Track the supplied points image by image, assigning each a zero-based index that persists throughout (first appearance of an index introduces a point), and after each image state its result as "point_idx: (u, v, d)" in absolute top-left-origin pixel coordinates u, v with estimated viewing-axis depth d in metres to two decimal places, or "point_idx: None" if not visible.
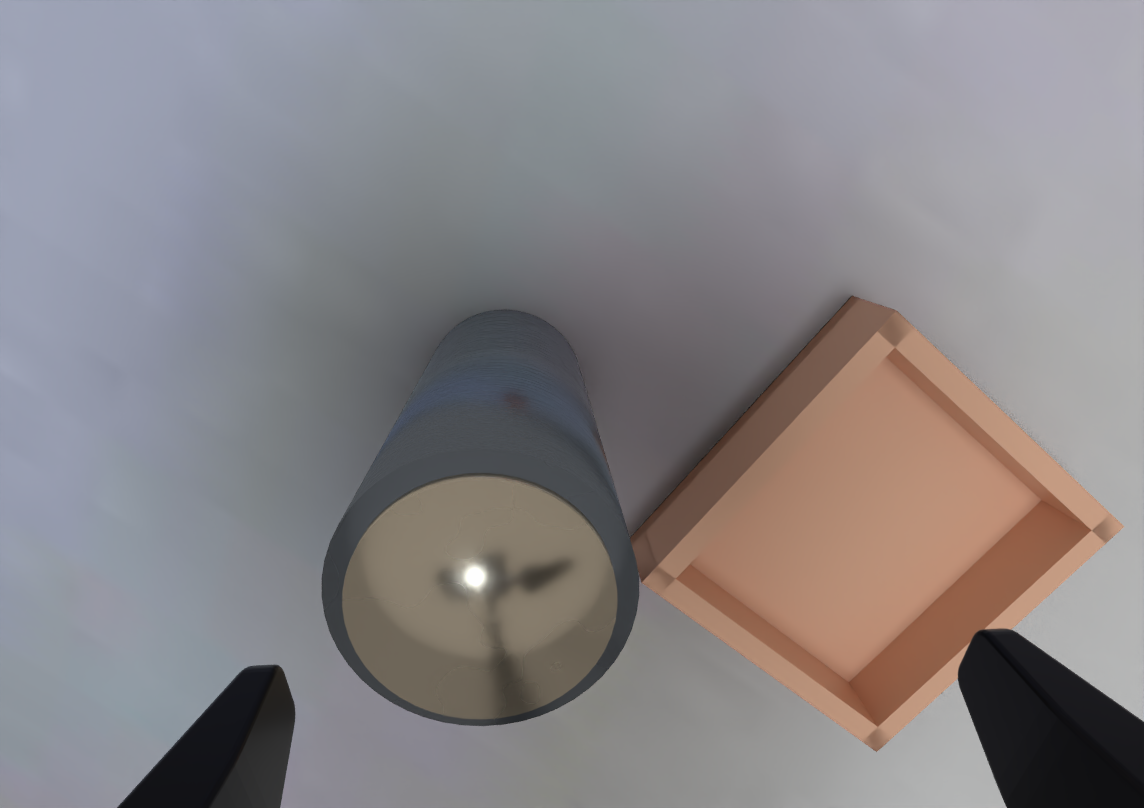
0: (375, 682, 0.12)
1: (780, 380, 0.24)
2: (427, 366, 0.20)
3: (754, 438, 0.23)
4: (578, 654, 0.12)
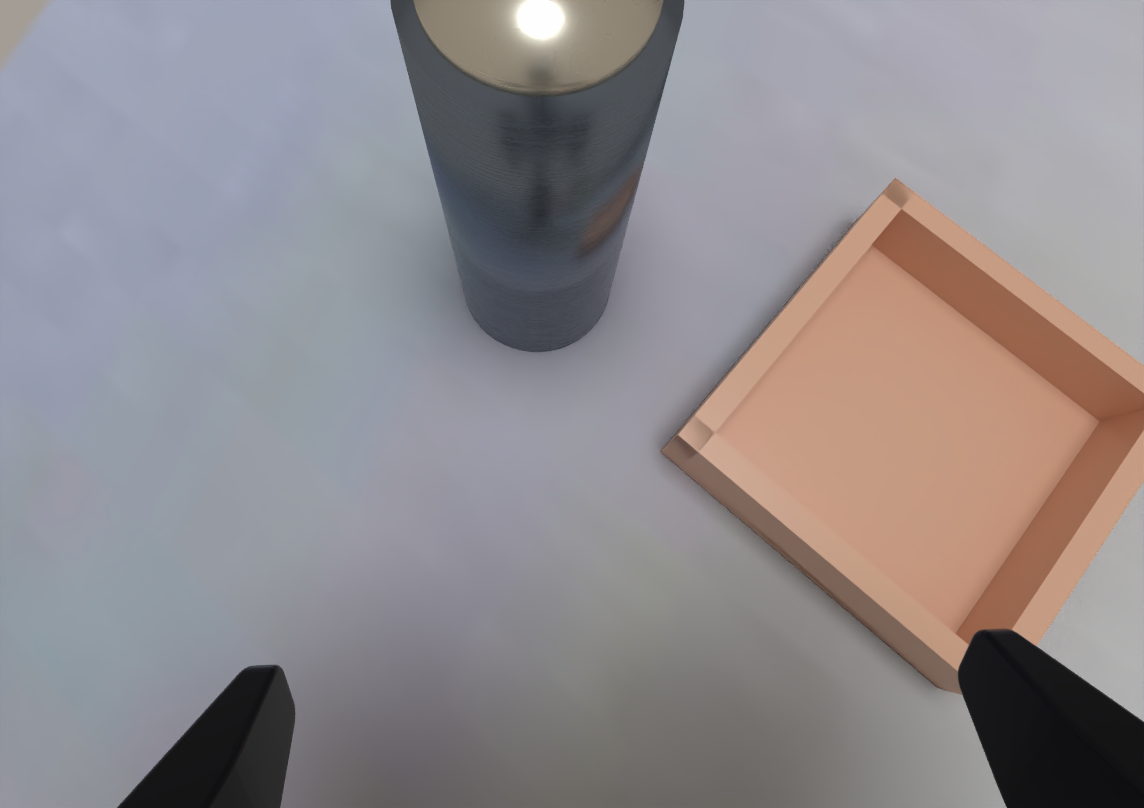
0: (425, 58, 0.12)
1: (801, 285, 0.25)
2: None
3: (782, 309, 0.23)
4: (628, 26, 0.12)
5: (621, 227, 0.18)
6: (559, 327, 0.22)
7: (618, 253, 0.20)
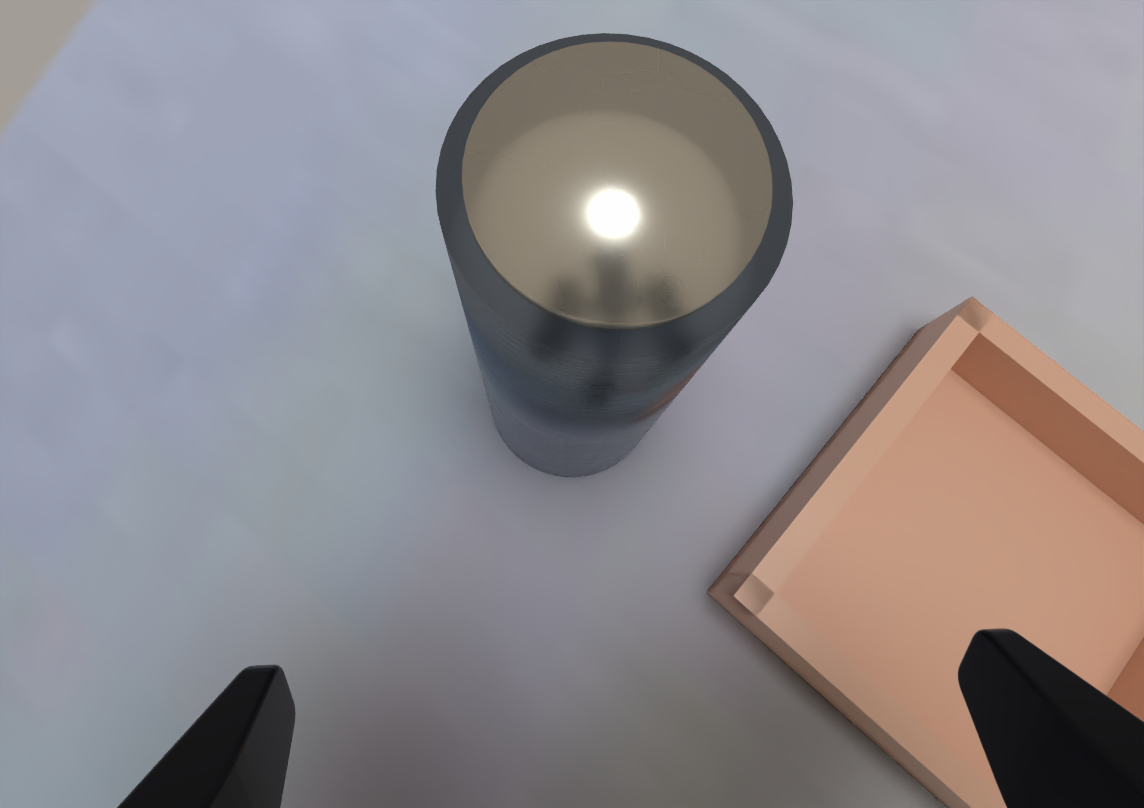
0: (479, 280, 0.10)
1: (861, 404, 0.23)
2: None
3: (845, 441, 0.21)
4: (729, 244, 0.10)
5: None
6: (599, 464, 0.20)
7: None
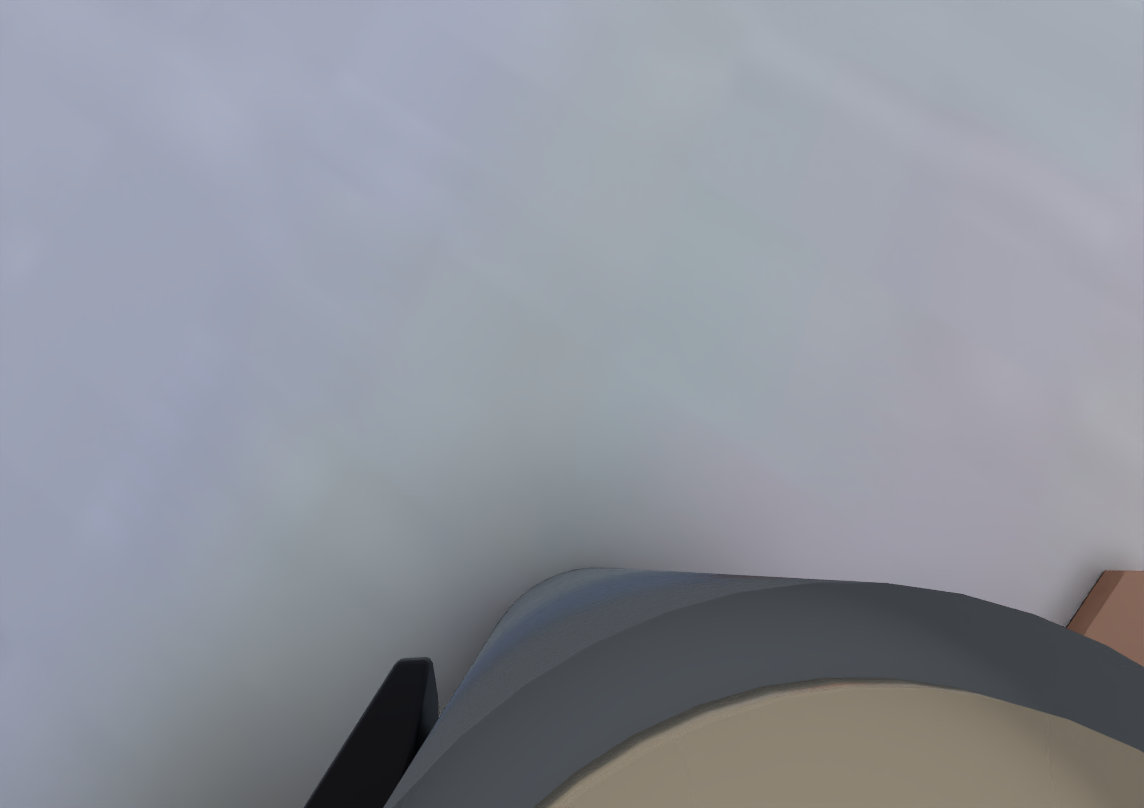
0: None
1: None
2: (495, 628, 0.12)
3: None
4: None
5: None
6: None
7: None
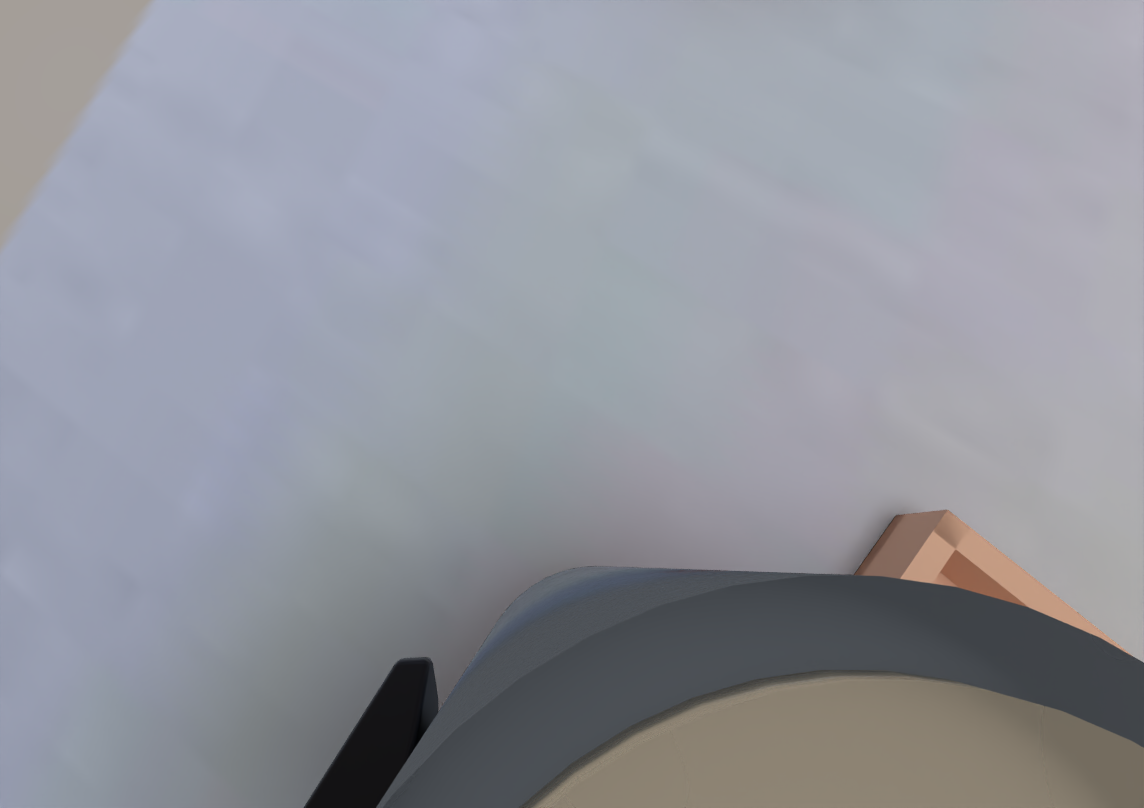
0: None
1: None
2: (494, 627, 0.12)
3: None
4: None
5: None
6: None
7: None
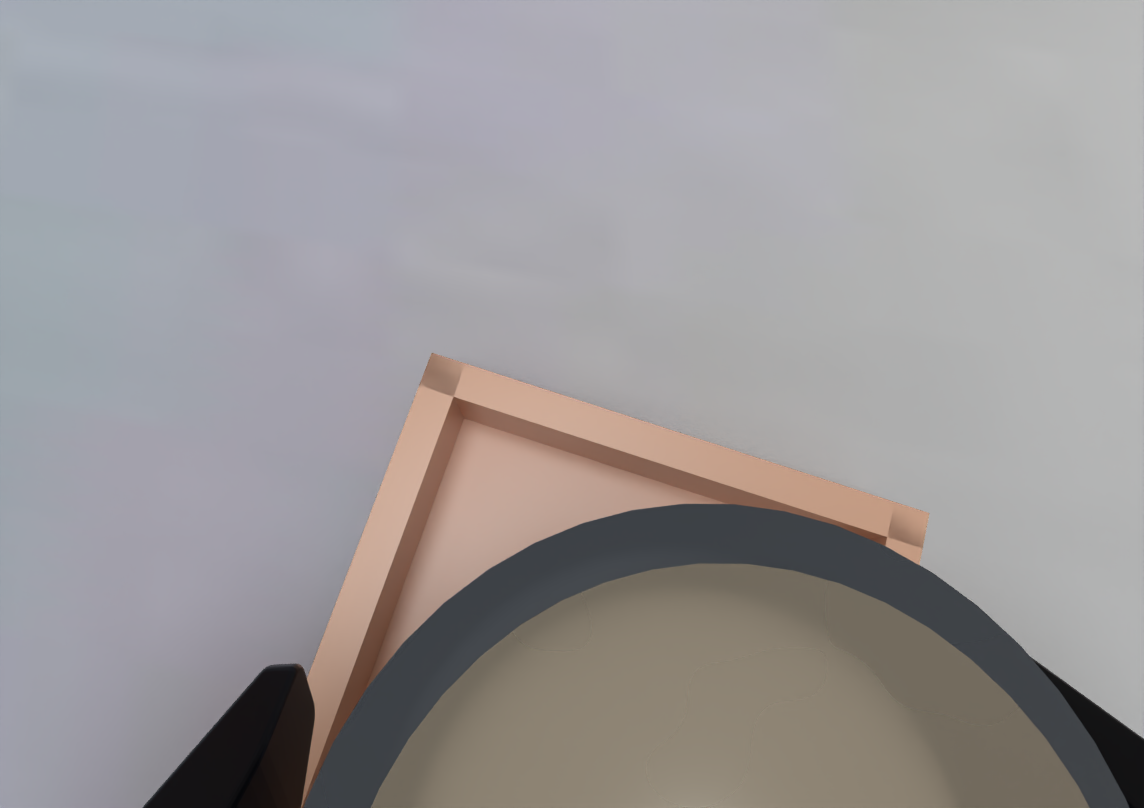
0: None
1: None
2: None
3: None
4: None
5: None
6: None
7: None
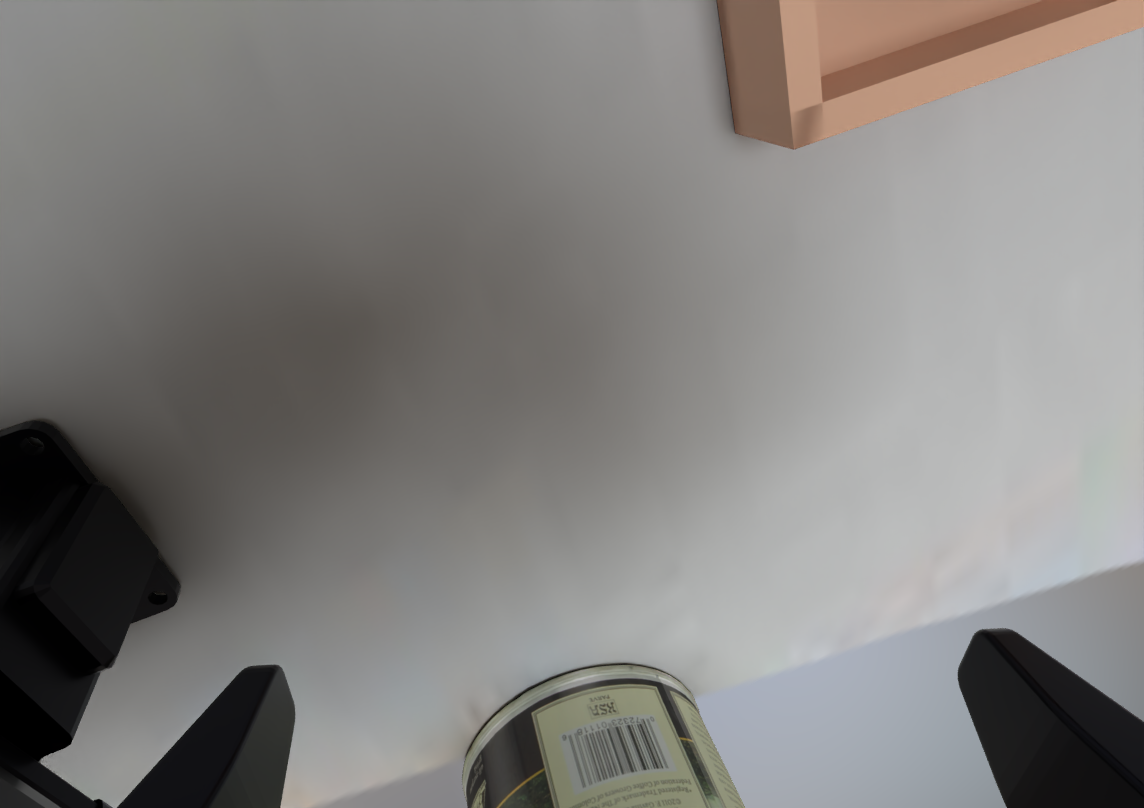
0: None
1: None
2: None
3: None
4: None
5: None
6: None
7: None
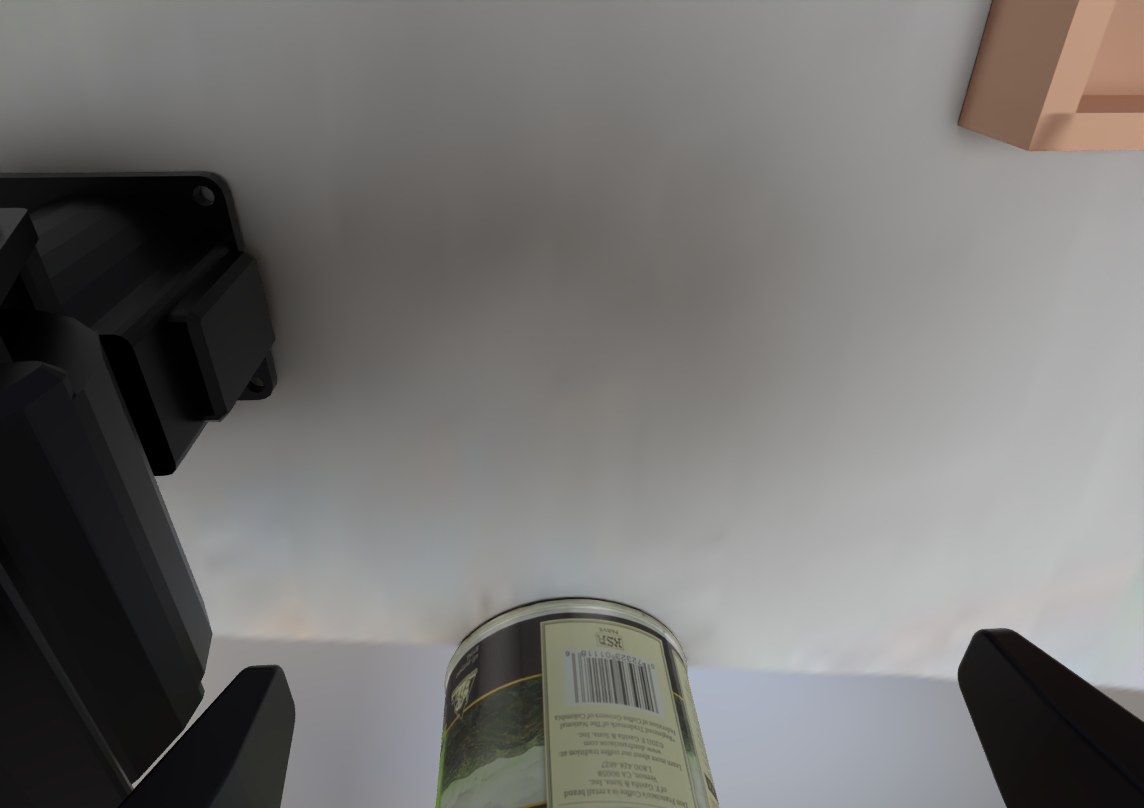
0: None
1: None
2: None
3: None
4: None
5: None
6: None
7: None
